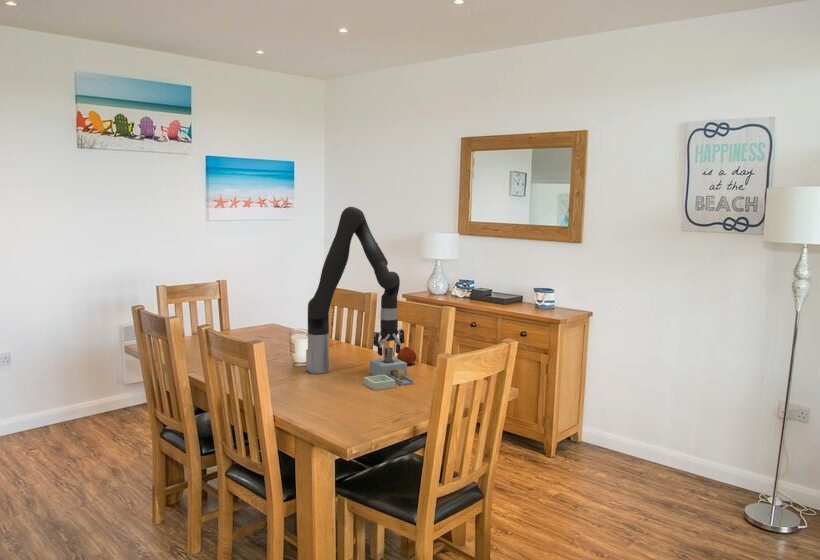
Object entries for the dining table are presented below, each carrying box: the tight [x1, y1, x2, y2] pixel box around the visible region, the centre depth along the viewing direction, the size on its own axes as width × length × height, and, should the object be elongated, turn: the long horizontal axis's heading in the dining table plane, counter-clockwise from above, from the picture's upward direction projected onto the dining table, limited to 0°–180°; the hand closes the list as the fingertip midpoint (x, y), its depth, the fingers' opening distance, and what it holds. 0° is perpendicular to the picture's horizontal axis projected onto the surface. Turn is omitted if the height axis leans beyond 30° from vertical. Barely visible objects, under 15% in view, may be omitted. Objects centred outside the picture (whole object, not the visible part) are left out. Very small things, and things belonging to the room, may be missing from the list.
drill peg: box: [383, 346, 394, 363], centre depth 283 cm, size 4×4×12 cm
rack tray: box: [363, 375, 396, 391], centre depth 267 cm, size 10×10×3 cm
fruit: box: [396, 346, 417, 365], centre depth 302 cm, size 9×9×8 cm
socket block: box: [369, 356, 415, 387], centre depth 278 cm, size 23×12×6 cm, turn 30°
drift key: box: [391, 369, 404, 379], centre depth 277 cm, size 9×3×4 cm, turn 30°
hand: (389, 354), depth 282 cm, fingers open, 8 cm apart
